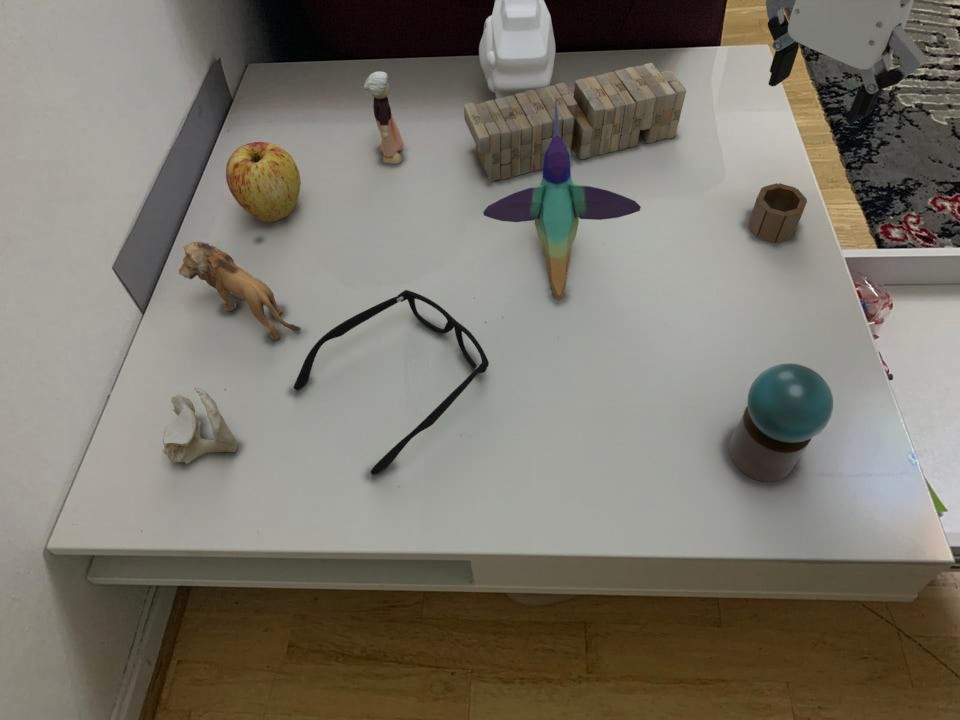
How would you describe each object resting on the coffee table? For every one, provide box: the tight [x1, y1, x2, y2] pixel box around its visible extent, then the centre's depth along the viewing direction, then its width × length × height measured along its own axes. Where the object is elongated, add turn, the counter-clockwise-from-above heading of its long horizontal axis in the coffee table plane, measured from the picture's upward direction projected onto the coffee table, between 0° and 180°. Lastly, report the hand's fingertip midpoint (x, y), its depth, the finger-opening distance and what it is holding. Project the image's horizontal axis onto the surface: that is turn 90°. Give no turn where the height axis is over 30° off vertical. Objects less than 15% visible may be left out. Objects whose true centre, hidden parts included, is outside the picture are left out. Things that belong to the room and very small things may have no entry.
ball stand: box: [728, 362, 834, 483], centre depth 68 cm, size 7×7×13 cm
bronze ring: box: [747, 182, 808, 244], centre depth 90 cm, size 6×6×4 cm
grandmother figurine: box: [363, 71, 404, 165], centre depth 99 cm, size 8×4×13 cm, turn 22°
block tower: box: [463, 62, 687, 182], centre depth 100 cm, size 8×8×29 cm
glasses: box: [293, 289, 490, 476], centre depth 79 cm, size 17×18×5 cm
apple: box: [225, 141, 301, 222], centre depth 94 cm, size 9×9×10 cm
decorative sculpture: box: [482, 98, 642, 301], centre depth 86 cm, size 17×18×15 cm
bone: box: [162, 386, 238, 465], centre depth 75 cm, size 9×6×10 cm
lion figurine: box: [178, 241, 302, 341], centre depth 84 cm, size 15×5×9 cm, turn 62°
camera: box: [478, 0, 556, 99], centre depth 104 cm, size 11×18×16 cm, turn 0°
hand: (816, 98), depth 80 cm, fingers open, 9 cm apart
